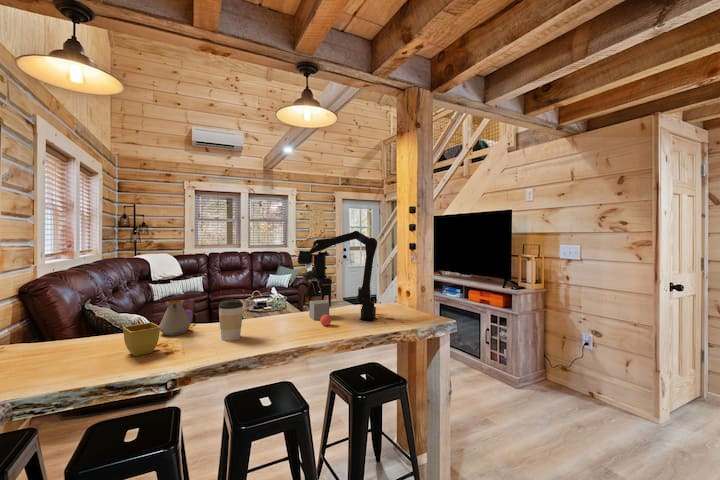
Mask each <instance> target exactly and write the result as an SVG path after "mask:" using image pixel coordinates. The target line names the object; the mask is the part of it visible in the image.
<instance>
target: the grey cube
mask: <svg viewBox="0 0 720 480" xmlns="http://www.w3.org/2000/svg"><path fill="white" fill-rule="evenodd" d="M308 311H309V313H308V314H309V315H308V316H309V318H310V319H312V321H320V318H321V317H322V316H323V315H325V314H327V315H329V316H330V302H329V301H327V300H326V299H319V300H309V310H308Z"/></svg>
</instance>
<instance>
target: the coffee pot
mask: <svg viewBox="0 0 720 480" xmlns="http://www.w3.org/2000/svg"><path fill="white" fill-rule="evenodd" d="M184 302H185V301H184V300H183V299H173V300H169V301H168V300H167V301H165V302H164V304H165V305H166V306H167V308H166V311H165V312H164V315H163V317H162V319H161V321H160V323H159V325H158V326H160V333H162V334H163V335H165V336H170V337H171V336H178V335H182V334H185V333H186V332H187V331H188V330H189V329H190V327H191V324H192V323H191V322H190V319H189V318H188V315H187V313H186V311H185V309H184V307H183V303H184Z"/></svg>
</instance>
